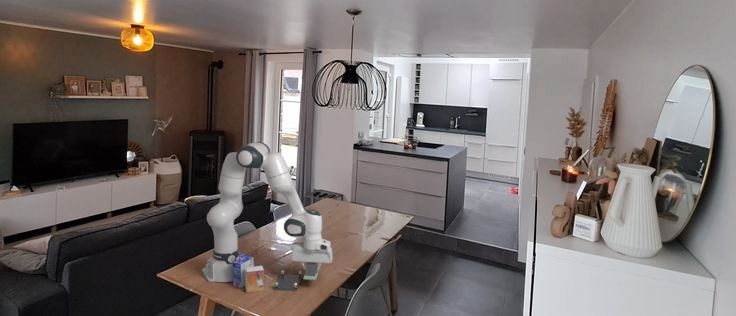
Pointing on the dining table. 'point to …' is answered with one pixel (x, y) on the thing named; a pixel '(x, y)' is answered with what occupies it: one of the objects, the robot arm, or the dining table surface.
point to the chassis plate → (288, 282)
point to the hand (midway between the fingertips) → (311, 270)
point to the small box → (254, 279)
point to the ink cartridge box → (241, 270)
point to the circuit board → (311, 271)
